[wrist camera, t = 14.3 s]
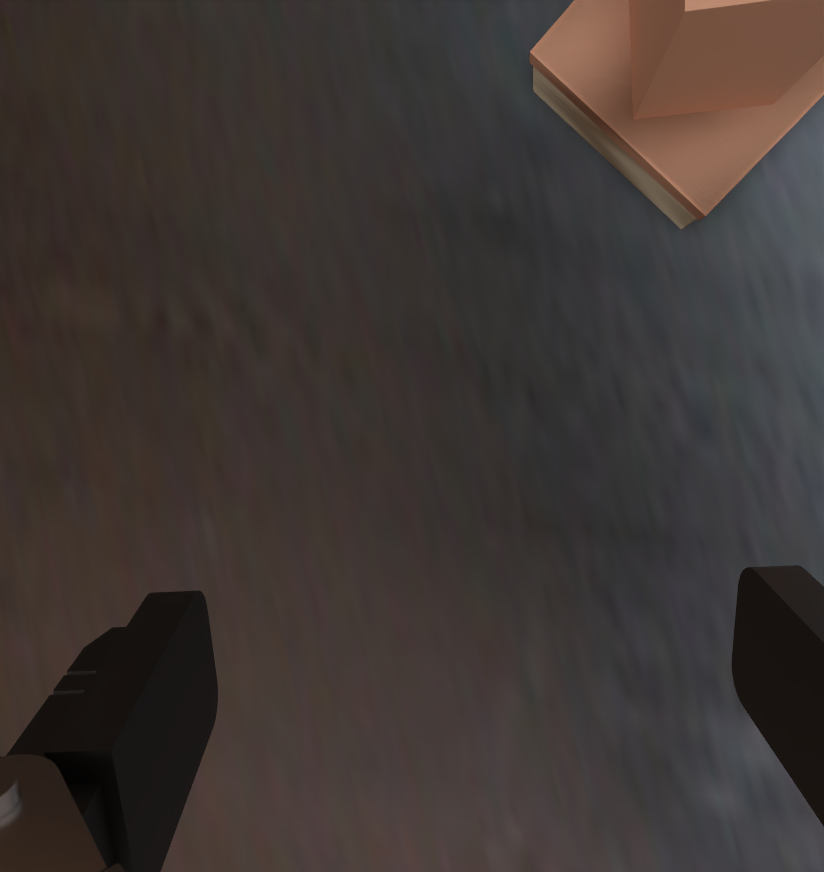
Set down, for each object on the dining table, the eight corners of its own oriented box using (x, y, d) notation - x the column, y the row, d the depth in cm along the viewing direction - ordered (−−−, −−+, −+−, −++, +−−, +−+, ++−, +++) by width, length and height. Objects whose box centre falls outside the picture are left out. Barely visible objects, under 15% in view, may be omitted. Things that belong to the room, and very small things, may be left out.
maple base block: (529, 92, 34) (529, 51, 30) (682, -82, 33) (709, -155, 28) (680, 233, 34) (705, 215, 29) (842, 66, 32) (898, 18, 28)
